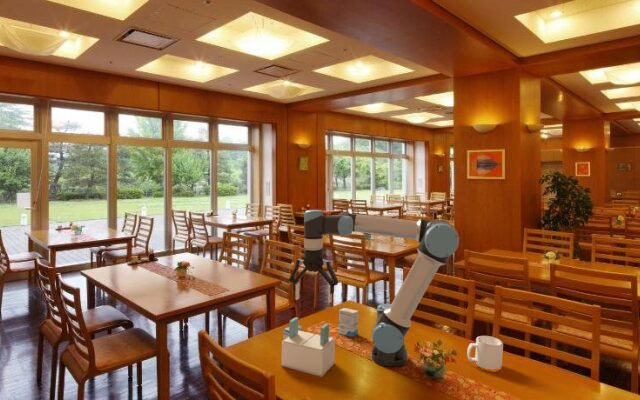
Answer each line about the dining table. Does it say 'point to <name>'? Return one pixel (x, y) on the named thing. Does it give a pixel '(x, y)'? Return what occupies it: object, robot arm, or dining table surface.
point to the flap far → (297, 334)
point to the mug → (487, 352)
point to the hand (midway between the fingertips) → (313, 300)
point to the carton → (308, 358)
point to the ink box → (348, 322)
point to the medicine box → (286, 332)
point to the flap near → (319, 339)
